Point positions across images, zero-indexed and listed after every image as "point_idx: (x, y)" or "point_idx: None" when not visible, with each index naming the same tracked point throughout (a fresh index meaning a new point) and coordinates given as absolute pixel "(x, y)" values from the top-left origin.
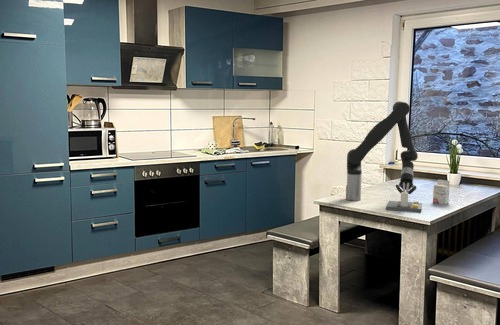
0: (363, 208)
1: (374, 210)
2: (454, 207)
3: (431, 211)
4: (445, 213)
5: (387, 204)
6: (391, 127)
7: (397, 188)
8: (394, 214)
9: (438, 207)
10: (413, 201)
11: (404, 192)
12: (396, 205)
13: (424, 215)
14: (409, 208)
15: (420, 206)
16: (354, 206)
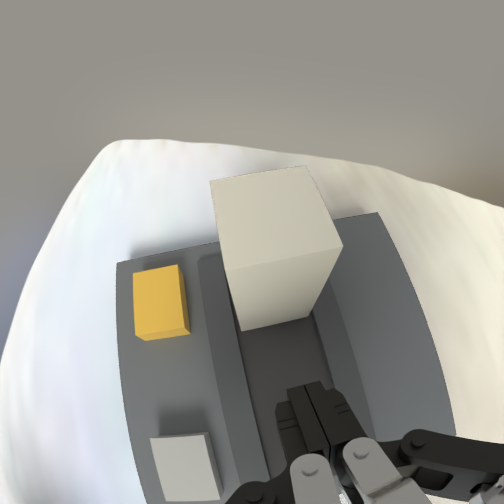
0: (458, 198)
1: (401, 181)
2: (7, 500)
3: (69, 345)
4: (14, 323)
5: (408, 280)
6: None
7: (486, 456)
8: (272, 151)
9: (58, 493)
10: (210, 462)
11: (286, 240)
12: (336, 287)
13: (111, 211)
14: (204, 246)
15: (128, 364)
16: (499, 218)
